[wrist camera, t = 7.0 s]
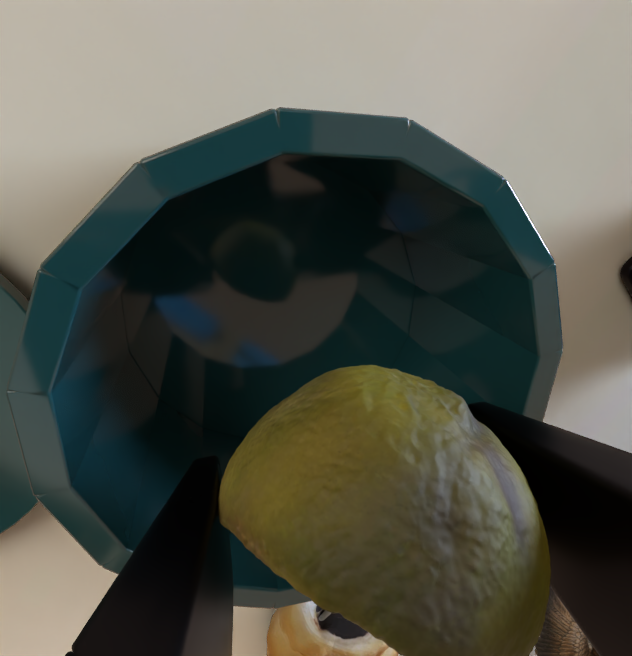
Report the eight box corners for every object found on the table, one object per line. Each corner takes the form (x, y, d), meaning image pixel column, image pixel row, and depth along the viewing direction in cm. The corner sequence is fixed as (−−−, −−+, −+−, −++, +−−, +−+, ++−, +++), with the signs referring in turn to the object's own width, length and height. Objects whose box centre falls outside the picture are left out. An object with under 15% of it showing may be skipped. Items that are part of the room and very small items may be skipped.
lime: (434, 471, 10) (615, 718, 6) (239, 522, 9) (266, 864, 5) (438, 302, 8) (707, 463, 4) (199, 344, 7) (183, 618, 3)
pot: (474, 303, 17) (628, 384, 11) (276, 487, 18) (312, 658, 12) (280, 47, 12) (358, -79, 6) (23, 321, 13) (-147, 464, 7)
